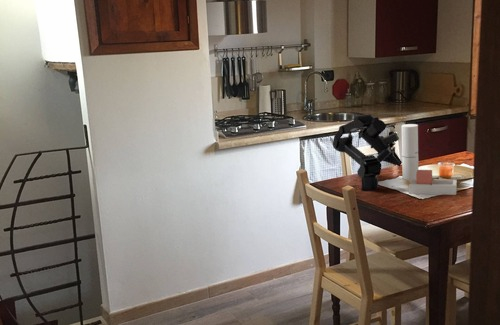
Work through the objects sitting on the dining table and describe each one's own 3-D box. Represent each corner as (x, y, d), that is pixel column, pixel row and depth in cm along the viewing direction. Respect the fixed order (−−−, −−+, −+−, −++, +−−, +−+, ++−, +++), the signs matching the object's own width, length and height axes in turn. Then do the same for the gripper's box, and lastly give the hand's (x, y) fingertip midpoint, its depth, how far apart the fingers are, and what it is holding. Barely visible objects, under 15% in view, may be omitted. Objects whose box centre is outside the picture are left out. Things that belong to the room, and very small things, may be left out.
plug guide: (408, 193, 221) (408, 184, 220) (410, 187, 229) (410, 178, 228) (456, 194, 214) (456, 185, 213) (456, 188, 222) (456, 179, 221)
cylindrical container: (421, 177, 242) (421, 124, 236) (411, 181, 238) (410, 127, 232) (409, 175, 247) (408, 123, 242) (399, 178, 244) (398, 126, 238)
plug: (416, 191, 221) (416, 173, 219) (417, 187, 226) (417, 169, 225) (431, 192, 219) (431, 173, 217) (432, 187, 224) (432, 169, 222)
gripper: (383, 130, 213) (412, 157, 212) (389, 122, 230) (416, 146, 229) (365, 149, 218) (393, 175, 217) (372, 140, 235) (398, 163, 233)
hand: (400, 164), depth 224 cm, fingers open, 3 cm apart
